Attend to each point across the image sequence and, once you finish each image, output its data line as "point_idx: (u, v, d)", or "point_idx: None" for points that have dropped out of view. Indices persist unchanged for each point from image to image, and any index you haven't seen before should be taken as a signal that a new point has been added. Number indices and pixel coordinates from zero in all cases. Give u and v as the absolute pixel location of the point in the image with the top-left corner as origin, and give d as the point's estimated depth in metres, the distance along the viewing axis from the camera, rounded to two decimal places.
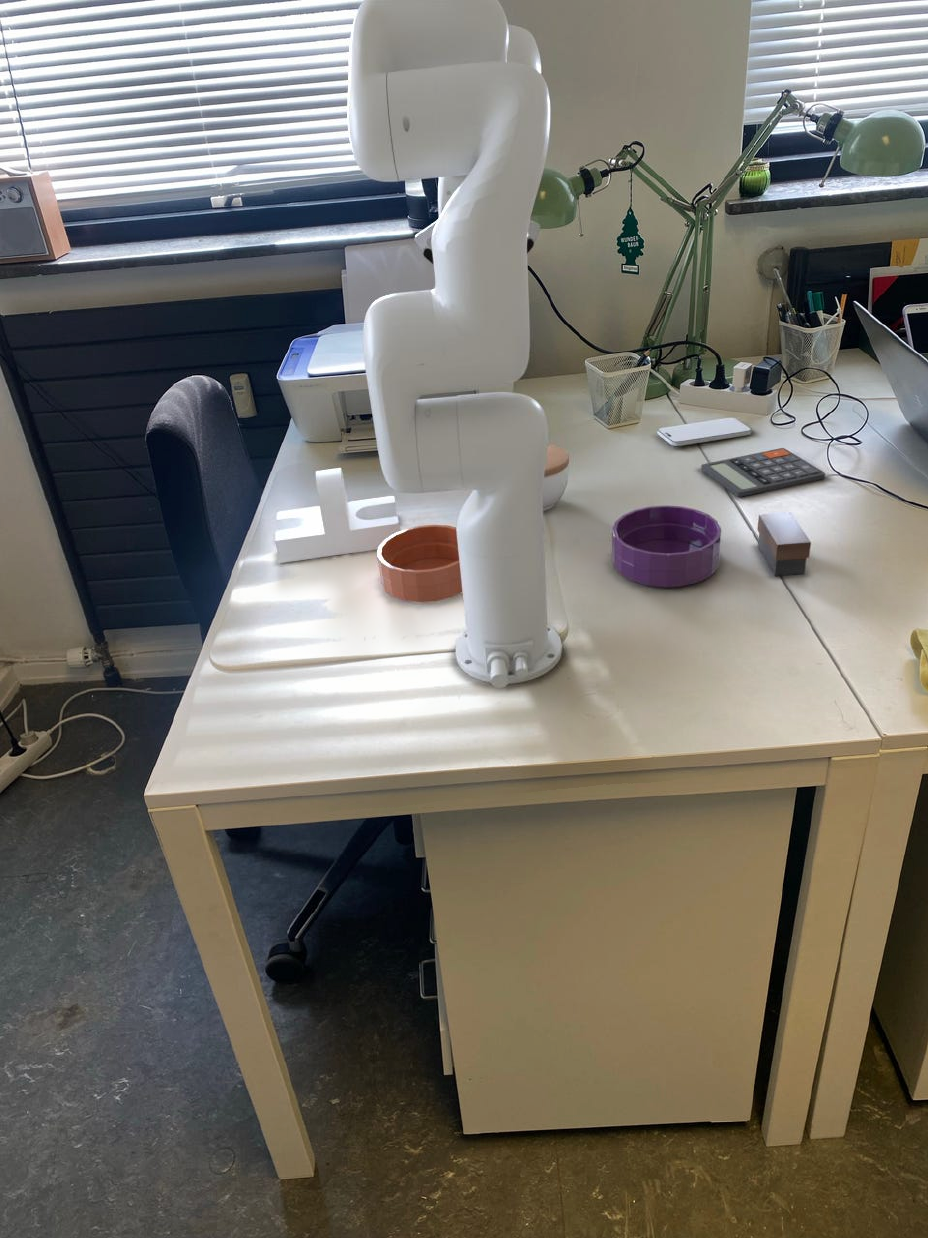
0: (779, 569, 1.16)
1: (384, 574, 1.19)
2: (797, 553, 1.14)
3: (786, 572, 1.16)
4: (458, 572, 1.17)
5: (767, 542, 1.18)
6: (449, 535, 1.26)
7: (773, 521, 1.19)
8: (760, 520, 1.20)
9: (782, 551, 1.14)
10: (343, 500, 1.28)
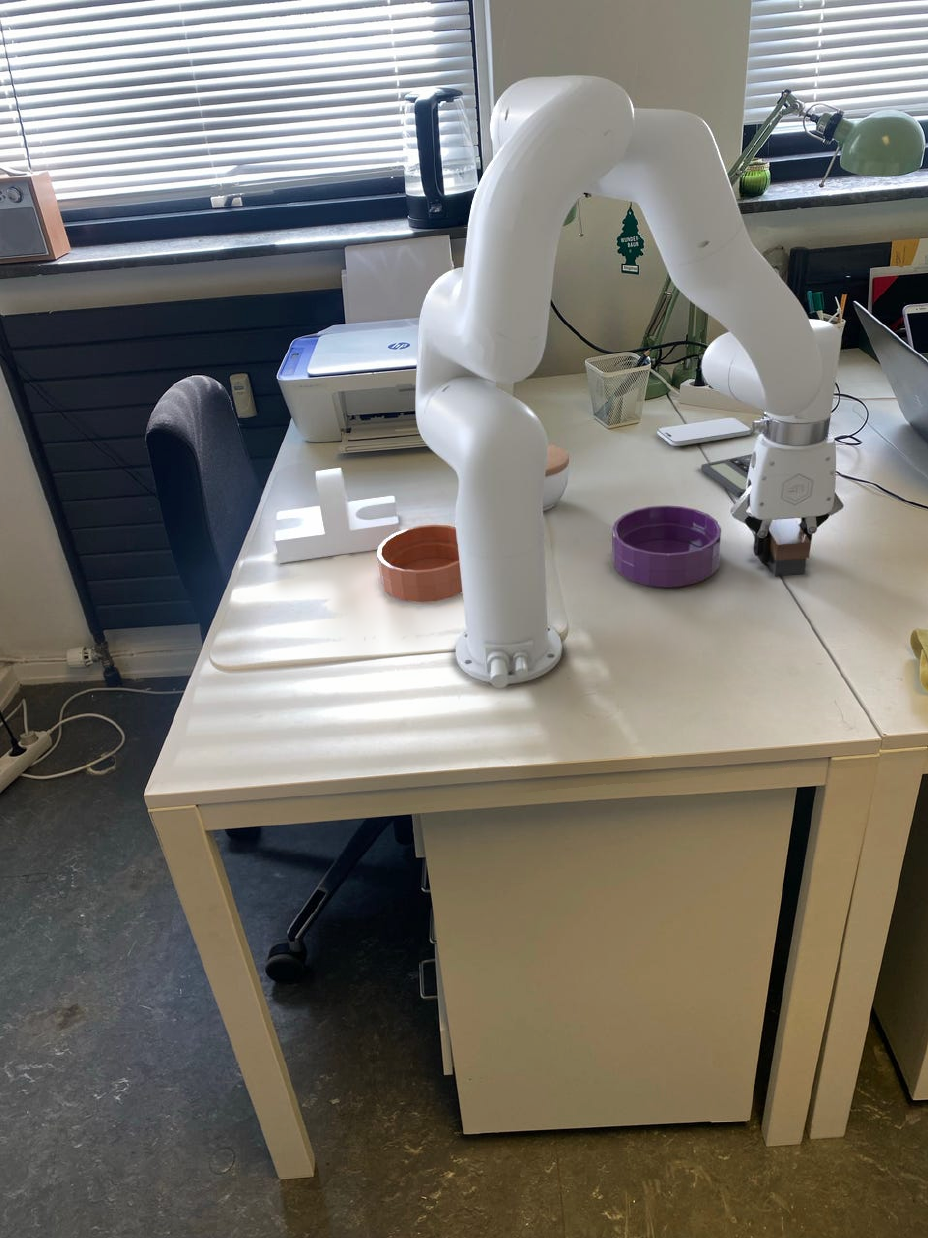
0: (779, 569, 1.16)
1: (384, 574, 1.19)
2: (797, 553, 1.14)
3: (786, 572, 1.16)
4: (458, 572, 1.17)
5: None
6: (449, 535, 1.26)
7: (773, 521, 1.19)
8: None
9: (782, 551, 1.14)
10: (343, 500, 1.28)
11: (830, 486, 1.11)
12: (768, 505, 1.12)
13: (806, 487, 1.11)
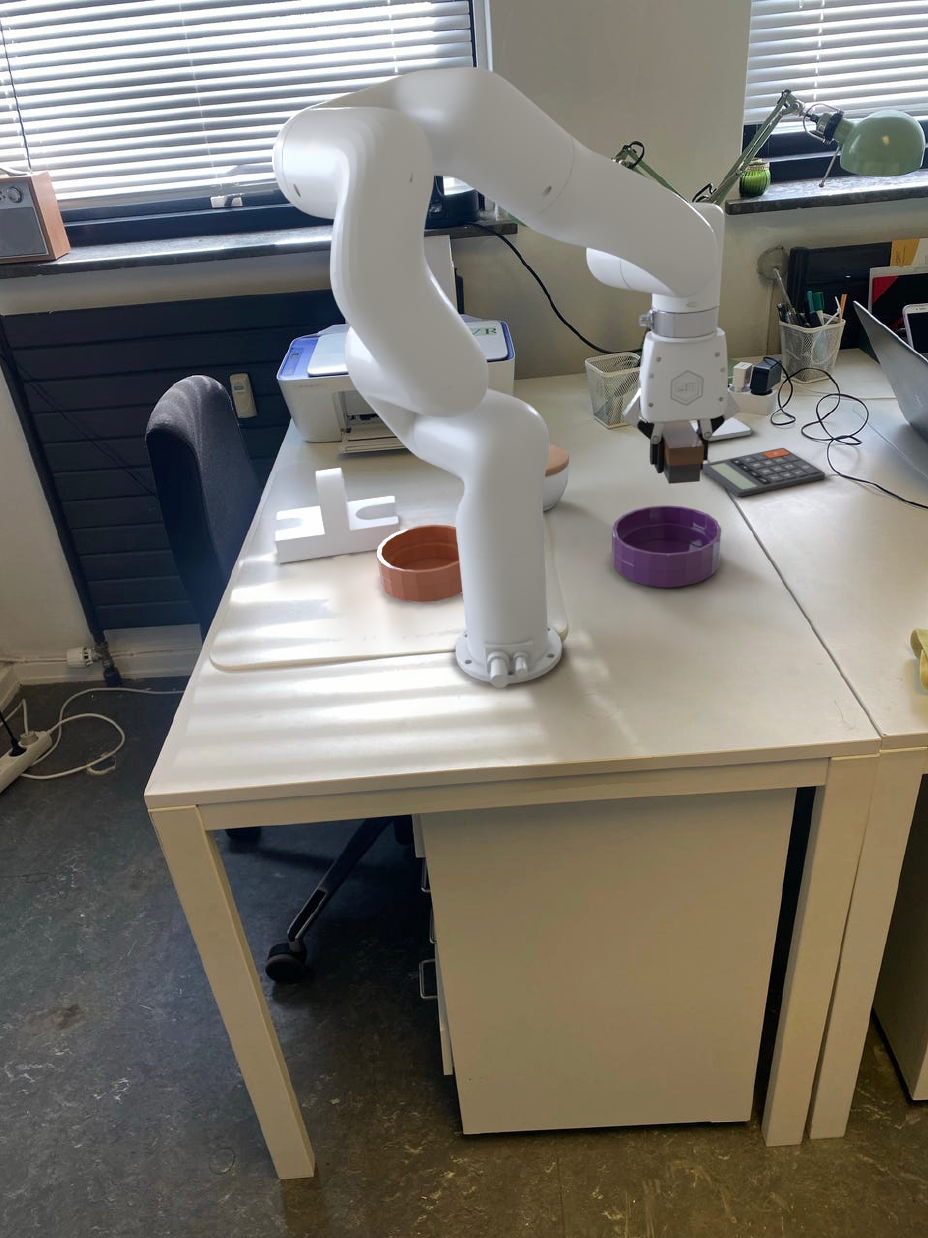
0: (673, 476, 1.10)
1: (384, 574, 1.19)
2: (690, 458, 1.09)
3: (680, 479, 1.11)
4: (458, 572, 1.17)
5: None
6: (449, 535, 1.26)
7: (669, 428, 1.13)
8: None
9: (674, 455, 1.09)
10: (343, 500, 1.28)
11: (722, 385, 1.06)
12: (657, 405, 1.07)
13: (696, 385, 1.06)
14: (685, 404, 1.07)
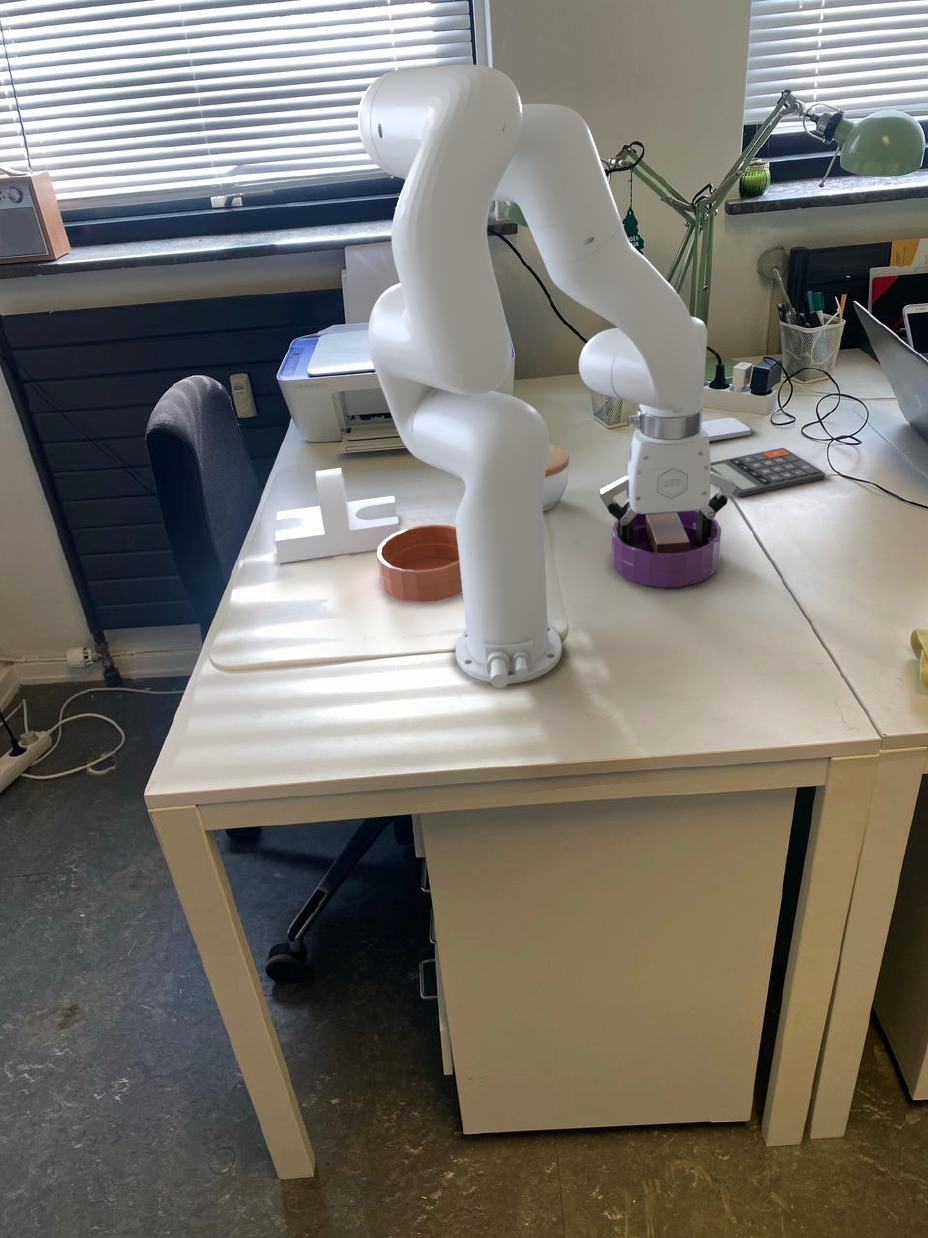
0: None
1: (384, 574, 1.19)
2: (677, 552, 1.16)
3: None
4: (458, 572, 1.17)
5: (651, 542, 1.20)
6: (449, 535, 1.26)
7: (657, 521, 1.21)
8: (646, 520, 1.22)
9: (662, 550, 1.16)
10: (343, 500, 1.28)
11: (705, 480, 1.12)
12: (645, 498, 1.13)
13: (681, 481, 1.12)
14: (671, 498, 1.13)
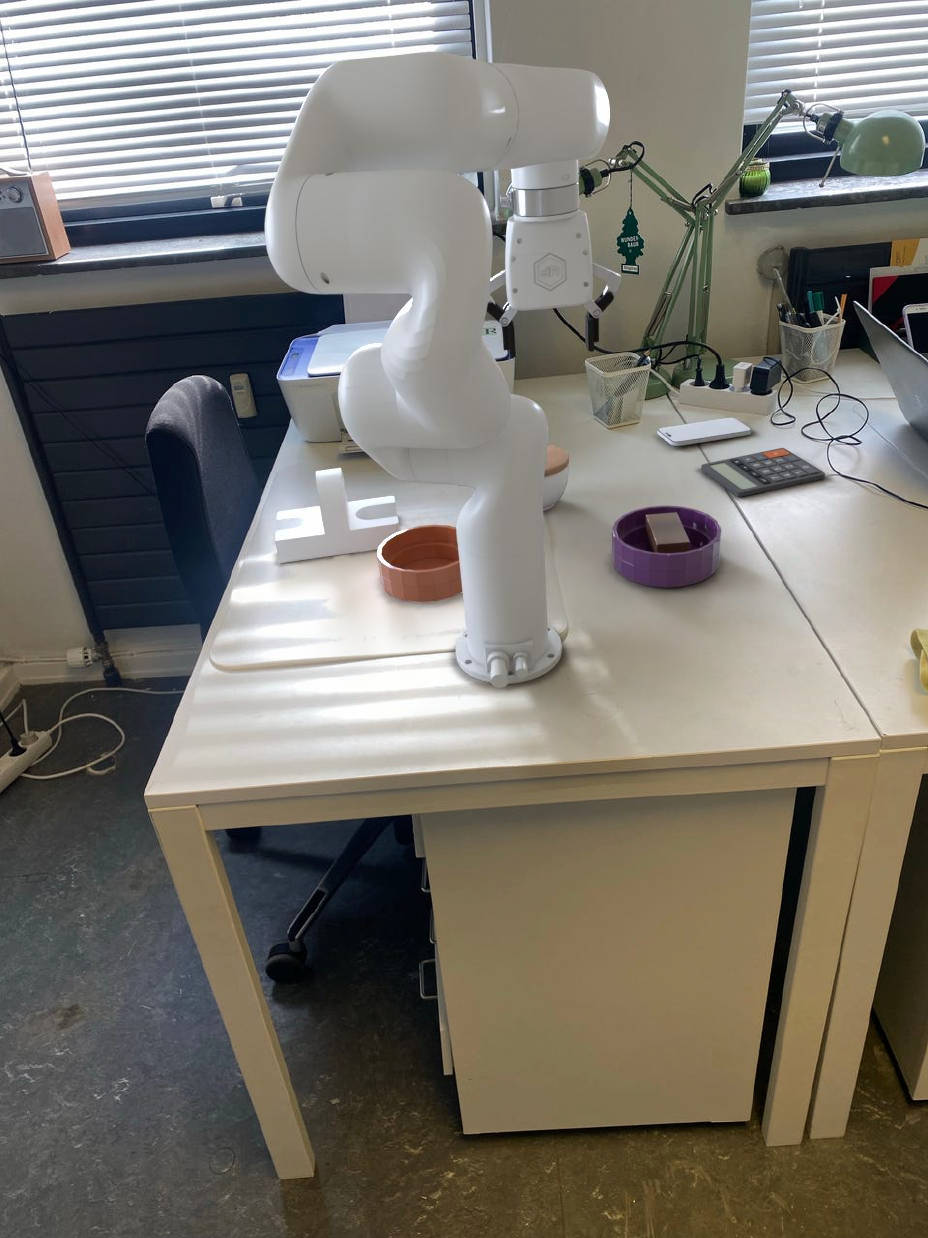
0: None
1: (384, 574, 1.19)
2: (677, 552, 1.16)
3: None
4: (458, 572, 1.17)
5: (651, 542, 1.20)
6: (449, 535, 1.26)
7: (657, 521, 1.21)
8: (646, 520, 1.22)
9: (662, 550, 1.16)
10: (343, 500, 1.28)
11: (586, 268, 1.04)
12: (522, 291, 1.05)
13: (560, 269, 1.04)
14: (550, 289, 1.05)
